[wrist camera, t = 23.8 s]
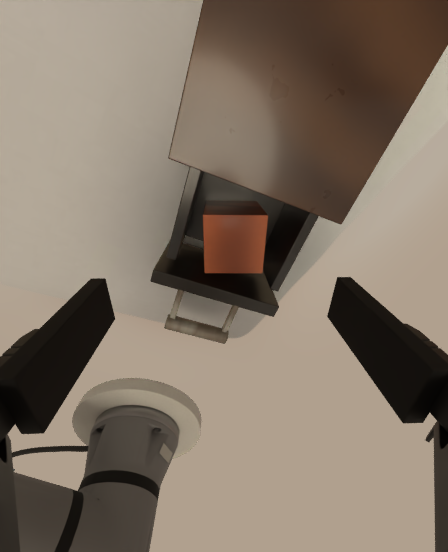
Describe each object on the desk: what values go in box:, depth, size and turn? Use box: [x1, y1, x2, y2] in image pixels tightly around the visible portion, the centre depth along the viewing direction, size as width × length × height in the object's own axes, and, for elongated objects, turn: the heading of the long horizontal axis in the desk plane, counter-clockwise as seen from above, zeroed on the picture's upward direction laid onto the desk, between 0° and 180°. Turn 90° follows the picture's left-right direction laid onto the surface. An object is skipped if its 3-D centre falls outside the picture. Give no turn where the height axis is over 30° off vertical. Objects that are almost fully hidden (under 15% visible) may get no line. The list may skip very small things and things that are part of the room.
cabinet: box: [169, 0, 448, 224], centre depth 17 cm, size 15×13×10 cm
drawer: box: [151, 167, 318, 344], centre depth 23 cm, size 21×11×8 cm, turn 160°
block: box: [203, 201, 268, 273], centre depth 22 cm, size 5×5×6 cm
